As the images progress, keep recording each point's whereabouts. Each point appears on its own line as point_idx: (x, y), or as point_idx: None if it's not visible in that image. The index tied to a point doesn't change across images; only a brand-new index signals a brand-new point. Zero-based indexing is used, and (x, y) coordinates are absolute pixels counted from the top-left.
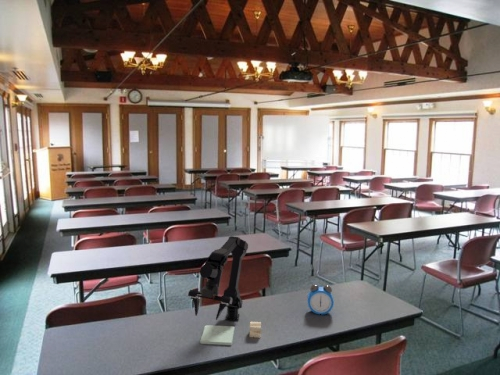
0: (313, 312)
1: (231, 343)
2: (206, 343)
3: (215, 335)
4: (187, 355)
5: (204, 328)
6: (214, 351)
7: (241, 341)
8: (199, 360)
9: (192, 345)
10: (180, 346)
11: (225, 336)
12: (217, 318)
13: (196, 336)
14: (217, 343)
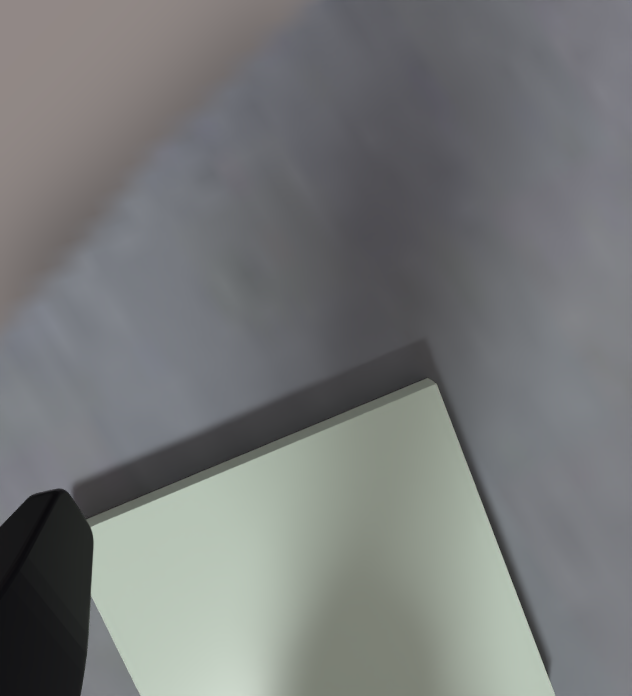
0: None
1: None
2: (356, 408)
3: (330, 580)
4: (430, 99)
5: (533, 649)
6: (189, 317)
7: None
8: (249, 73)
9: (487, 305)
10: (600, 223)
11: (207, 620)
12: (15, 535)
13: (543, 488)
14: (233, 462)
